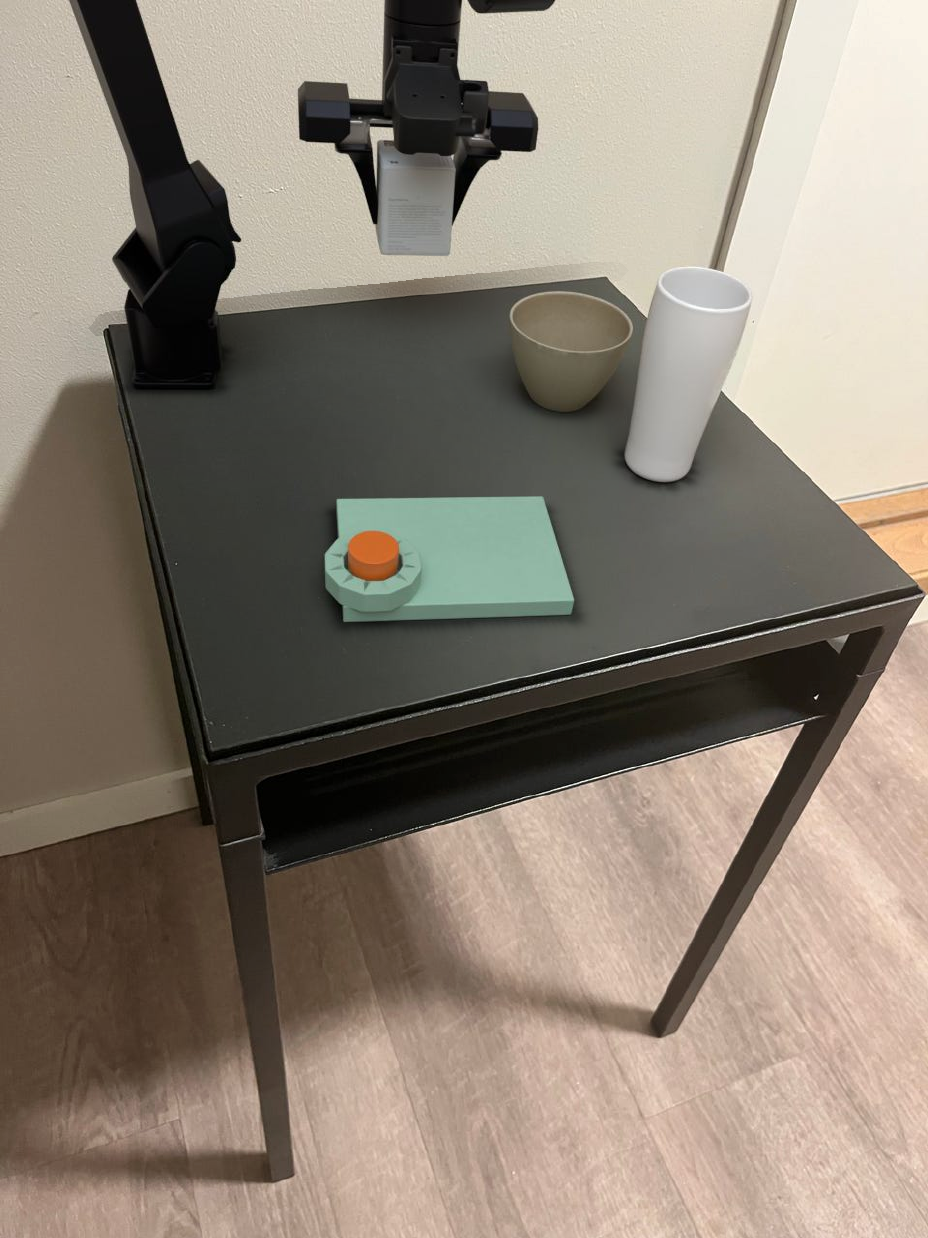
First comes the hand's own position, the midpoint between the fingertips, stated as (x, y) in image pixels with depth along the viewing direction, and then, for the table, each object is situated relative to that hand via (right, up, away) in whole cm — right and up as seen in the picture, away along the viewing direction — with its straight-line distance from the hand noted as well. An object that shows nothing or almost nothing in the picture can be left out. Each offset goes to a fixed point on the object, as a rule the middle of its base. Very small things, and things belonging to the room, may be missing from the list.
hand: (411, 223), depth 83 cm
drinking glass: (+20, -22, -6) cm, 30 cm away
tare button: (-1, -30, -21) cm, 37 cm away
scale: (+3, -30, -16) cm, 34 cm away
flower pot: (+12, -15, 0) cm, 19 cm away
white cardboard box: (0, -1, +1) cm, 2 cm away
